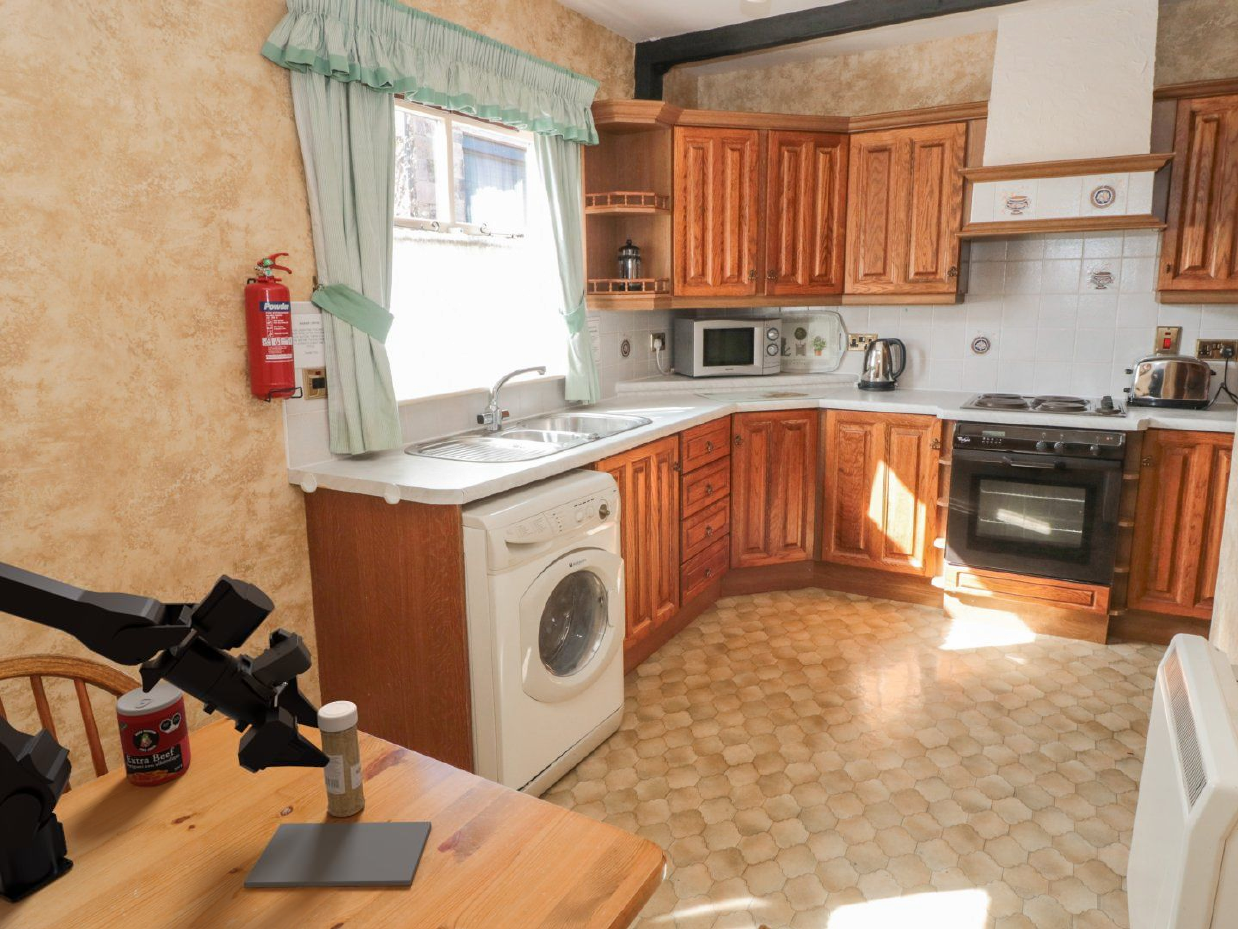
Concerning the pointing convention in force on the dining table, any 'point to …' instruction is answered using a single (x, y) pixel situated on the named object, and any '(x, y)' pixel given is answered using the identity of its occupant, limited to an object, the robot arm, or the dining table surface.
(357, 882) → the charcoal mat
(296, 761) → the robot arm
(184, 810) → the dining table surface
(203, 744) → the dining table surface
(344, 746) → the spice jar
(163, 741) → the canned food
